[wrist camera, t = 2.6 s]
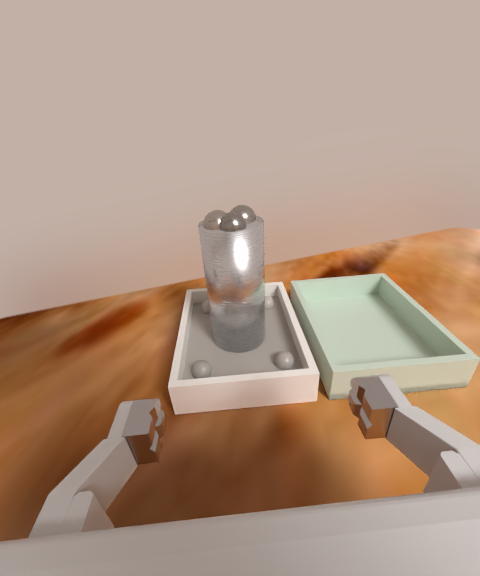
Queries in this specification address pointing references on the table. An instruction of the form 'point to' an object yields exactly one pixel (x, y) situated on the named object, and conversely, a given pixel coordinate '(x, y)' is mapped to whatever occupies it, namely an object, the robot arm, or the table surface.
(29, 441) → the table surface
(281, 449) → the table surface
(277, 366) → the bin
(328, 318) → the bin
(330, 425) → the table surface
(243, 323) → the chrome tube with bumps
